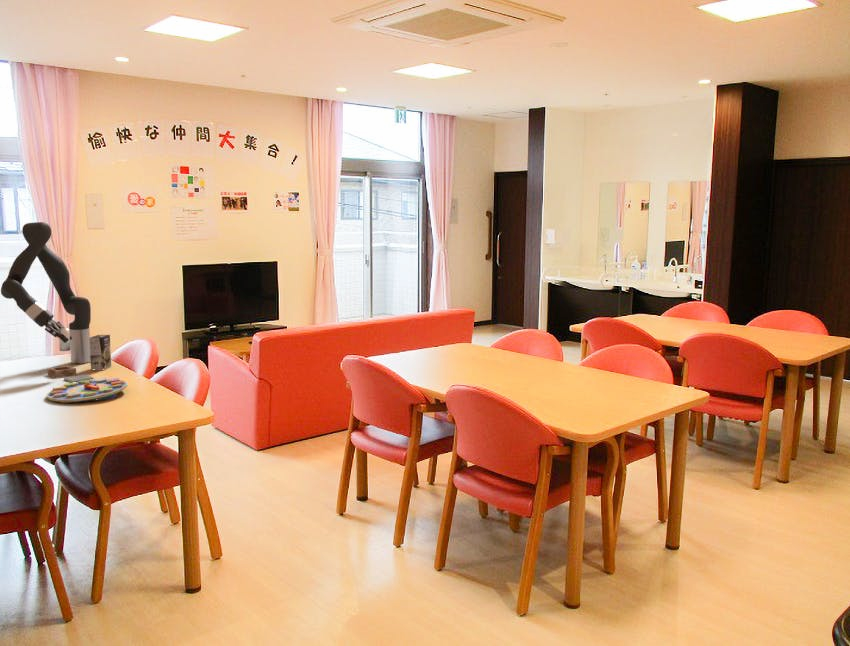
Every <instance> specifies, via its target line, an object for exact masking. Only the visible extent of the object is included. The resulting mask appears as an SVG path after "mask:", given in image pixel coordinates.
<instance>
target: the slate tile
mask: <svg viewBox="0 0 850 646" xmlns="http://www.w3.org/2000/svg"><path fill="white" fill-rule="evenodd" d="M90 379H95V378H94V376H93V377H92V376H89V375H87V374H80V375H79V374H78V375H72V376H66V377H63V380H64V381H66V380H67V381H66V382H69V381H70V382H69V383H72V382H79V381H83V380H90Z"/></svg>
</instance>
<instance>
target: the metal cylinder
mask: <svg viewBox="0 0 850 646" xmlns="http://www.w3.org/2000/svg"><path fill="white" fill-rule="evenodd" d="M60 332H61V333H62V334H63V335H65V336H66V337H67V338H68V339H69V340H68V341H67V342H66V343H64V342H63V341H62V340H61V339H60V338H58V346H59V347H58V348H59V351H60V352H68V351H70V331H69V327H65V328H60ZM70 352H71V351H70Z"/></svg>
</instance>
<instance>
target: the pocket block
mask: <svg viewBox="0 0 850 646" xmlns="http://www.w3.org/2000/svg"><path fill="white" fill-rule="evenodd" d="M46 371H47V376H49V375H50V377H53V376H54V377H53V378H56V377H59V378H64V377H63V376H65V377H69V376H68V375H71V376H74V375H73V374H76V375H77V368H76V367H73V366H70V365H64V366H57V367H50V368H49V367H48V368H47V370H46Z"/></svg>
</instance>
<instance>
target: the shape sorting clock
mask: <svg viewBox="0 0 850 646" xmlns="http://www.w3.org/2000/svg"><path fill="white" fill-rule="evenodd" d="M127 387H128V382H127V381H126V380H123V379H120V378H119V377H114V378H113V377H112V378H110V379H109V378H107V377H100V378H96V379H95V378H94V380H83V381H79V382H76V383H72V382H68V383H64V384H63V385H61V386H59V387H53V388H52V390H50V391H48V392H47V393H46V398H47V399H48V400H49V401H52V402H57V403H58V402H60V403H61V404H71V402H73V403H82V402H81V401H83V402H89V401H88V400H93V401H97V400H96V399H103V400H109V399H108V398H114V399H115V398H116V396H117V394H118V393H120V392H121V391H123V390H126V388H127Z"/></svg>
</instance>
